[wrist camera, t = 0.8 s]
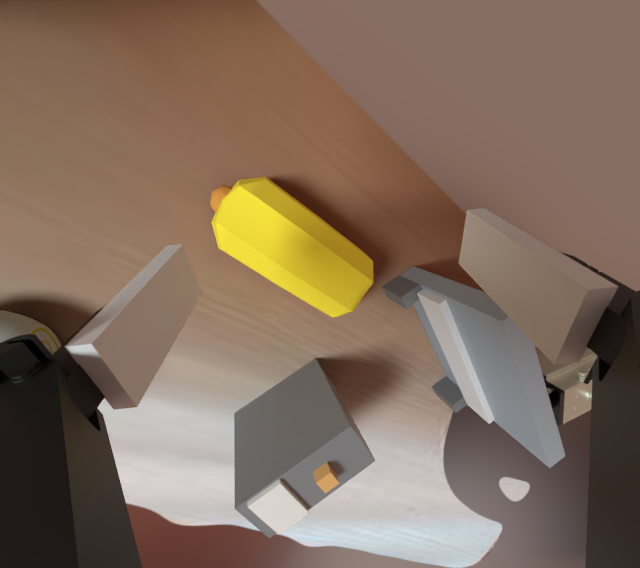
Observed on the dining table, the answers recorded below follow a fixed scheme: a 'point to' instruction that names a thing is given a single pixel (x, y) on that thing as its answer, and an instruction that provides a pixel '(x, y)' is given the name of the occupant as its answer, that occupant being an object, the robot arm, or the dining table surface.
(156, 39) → the dining table surface
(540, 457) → the rail panel
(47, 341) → the air freshener
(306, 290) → the yellow faceted gourd
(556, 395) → the pneumatic valve
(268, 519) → the block
